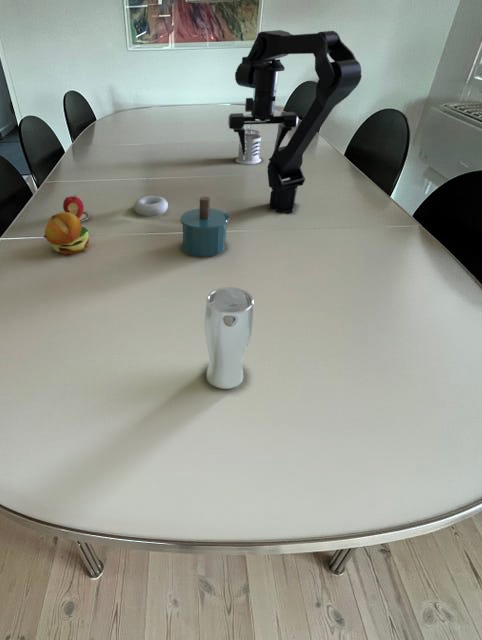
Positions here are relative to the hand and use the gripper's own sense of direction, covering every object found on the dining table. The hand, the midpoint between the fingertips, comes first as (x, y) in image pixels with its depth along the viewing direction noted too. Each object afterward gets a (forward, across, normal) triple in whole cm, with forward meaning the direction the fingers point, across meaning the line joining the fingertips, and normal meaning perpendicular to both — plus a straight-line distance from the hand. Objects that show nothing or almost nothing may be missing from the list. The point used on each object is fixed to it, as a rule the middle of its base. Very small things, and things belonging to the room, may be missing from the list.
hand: (259, 153), depth 119 cm
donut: (+12, +32, +12) cm, 36 cm away
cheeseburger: (+12, +51, +35) cm, 63 cm away
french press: (+12, -1, -36) cm, 38 cm away
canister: (+12, +17, +35) cm, 41 cm away
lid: (+5, +17, +35) cm, 39 cm away
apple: (+12, +54, +16) cm, 57 cm away
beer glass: (+12, +15, +82) cm, 84 cm away
